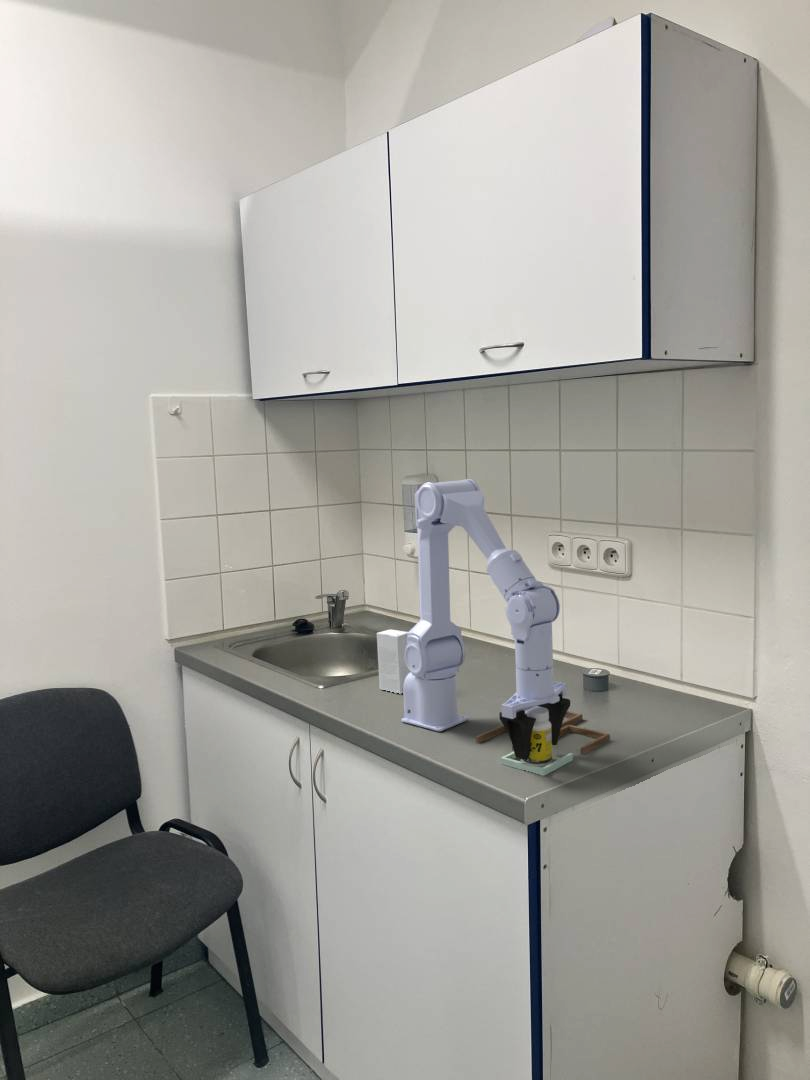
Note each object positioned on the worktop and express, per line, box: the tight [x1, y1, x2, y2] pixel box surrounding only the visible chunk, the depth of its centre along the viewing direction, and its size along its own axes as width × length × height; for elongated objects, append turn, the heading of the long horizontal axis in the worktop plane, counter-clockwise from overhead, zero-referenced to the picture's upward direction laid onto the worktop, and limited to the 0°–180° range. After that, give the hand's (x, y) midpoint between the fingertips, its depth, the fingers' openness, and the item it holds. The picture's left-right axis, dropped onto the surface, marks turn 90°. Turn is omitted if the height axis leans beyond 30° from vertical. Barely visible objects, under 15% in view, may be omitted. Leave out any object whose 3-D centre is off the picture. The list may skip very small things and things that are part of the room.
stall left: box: [561, 710, 583, 728], centre depth 156 cm, size 8×8×1 cm
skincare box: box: [376, 629, 410, 695], centre depth 179 cm, size 6×4×12 cm
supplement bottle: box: [520, 706, 553, 768], centre depth 137 cm, size 5×5×8 cm
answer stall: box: [500, 751, 574, 777], centre depth 138 cm, size 8×8×1 cm
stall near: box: [475, 724, 514, 752], centre depth 147 cm, size 8×8×1 cm
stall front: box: [559, 725, 611, 755], centre depth 146 cm, size 8×8×1 cm
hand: (536, 750), depth 138 cm, fingers open, 7 cm apart
